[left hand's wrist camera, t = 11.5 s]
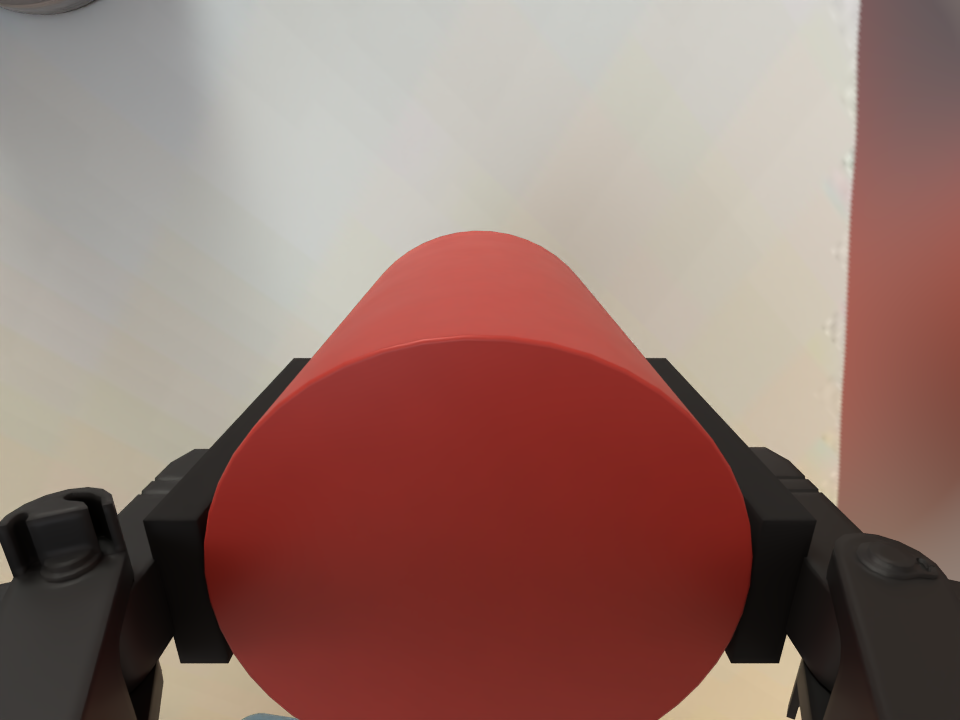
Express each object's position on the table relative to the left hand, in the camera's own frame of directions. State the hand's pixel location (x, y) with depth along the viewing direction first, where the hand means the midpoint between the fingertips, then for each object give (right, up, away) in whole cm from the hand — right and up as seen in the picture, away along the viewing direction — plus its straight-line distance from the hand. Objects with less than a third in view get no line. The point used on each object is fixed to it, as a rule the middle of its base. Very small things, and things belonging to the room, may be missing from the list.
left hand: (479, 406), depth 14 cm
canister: (0, +1, +3) cm, 4 cm away
